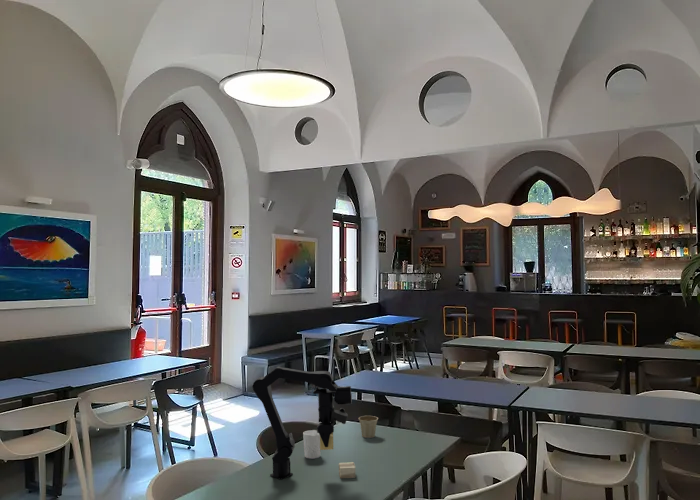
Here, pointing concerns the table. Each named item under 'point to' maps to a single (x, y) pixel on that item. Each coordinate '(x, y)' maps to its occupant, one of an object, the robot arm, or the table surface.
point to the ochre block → (330, 445)
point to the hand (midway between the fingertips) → (326, 444)
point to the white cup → (311, 444)
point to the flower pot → (368, 426)
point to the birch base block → (347, 470)
